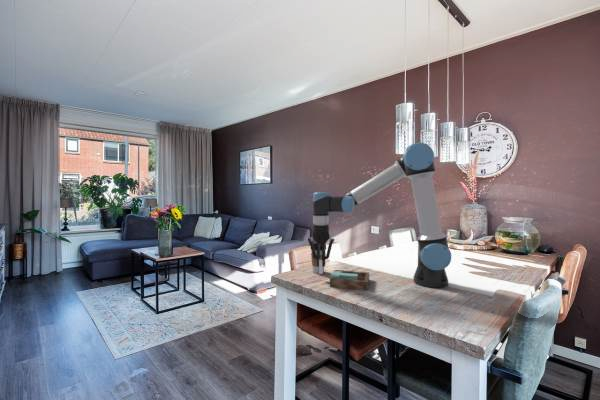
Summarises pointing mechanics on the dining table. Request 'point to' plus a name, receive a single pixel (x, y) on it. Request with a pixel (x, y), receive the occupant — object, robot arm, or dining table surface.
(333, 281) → the dock
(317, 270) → the coffee cup
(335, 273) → the tee block
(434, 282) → the robot arm
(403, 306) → the dining table surface
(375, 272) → the dining table surface
